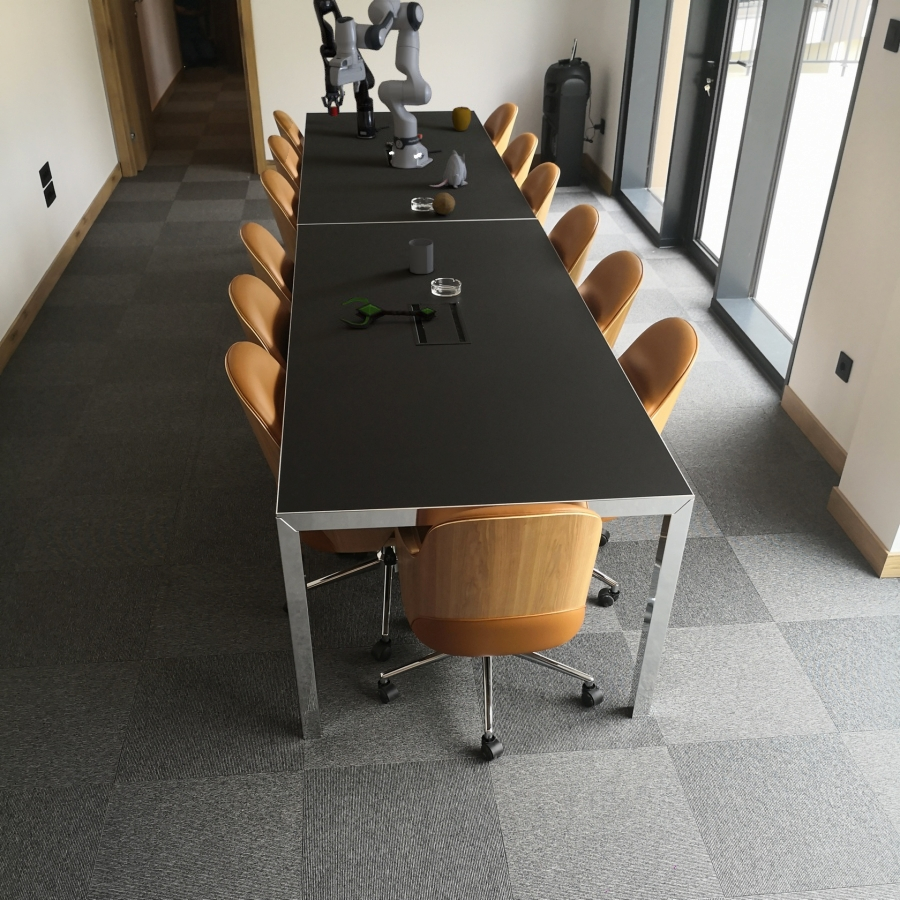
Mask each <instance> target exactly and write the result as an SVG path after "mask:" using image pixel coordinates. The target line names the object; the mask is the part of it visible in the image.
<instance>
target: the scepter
mask: <svg viewBox="0 0 900 900" xmlns="http://www.w3.org/2000/svg"><path fill="white" fill-rule="evenodd" d="M352 302H363V303H365V304H364V305H362V306H359V307H357V308H355V311H357V313H355V316H357V317H359V318H360V319H363V320H364V322H363V323H353V322H351V321H349V320H347V319H343V318H339V320H340V321H341V322H342V323H344V324H346V325H347V326H349V327H351V328H357V329H365V328H366V329H367V328H368V327H369V326H370V325H371V323H372V322H374V321H376V320H378V319H381V318H384V317H385V316H394V317H395V316H398V317H400V316H405V317H410V316H411V317H419V318H420V319H423V320H426V321H429V320H432V319H434V318H437V315H436V313H437V312H438V311H437V310H436V309H433V308H431V307H428V306H427V307H424V308H421V309H419V310H401V309H400V310H394V309H390V310H388V309H387V310H386V309H384V308H382V307H381V306H379V305H377V304H374V303H372V302H371V300H370V299H369V298H368V297H366V296H360V297H359V296H357V297H350V298H349V299H347V300H345V301H343V302H342V303H340V305H341V306H343V305H347V304H349V303H352Z"/></svg>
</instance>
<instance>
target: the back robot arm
mask: <svg viewBox="0 0 900 900" xmlns="http://www.w3.org/2000/svg"><path fill="white" fill-rule="evenodd" d="M312 5H313V9H314V13H315V17H316V20H317V24H318V26H319V30H320V38H321V43H322V44H321V45H320V46H319V54H320V55H321V57H320V58H321V59H322V63H323V69H324V89H325V94H324V96H321V98H320V99H321V101H322V104H323V107H324V108H327V114H328V116H330V115H332V113H331V106H332V104H333V103H334V104H335V106H336V107H337V113H338V115H340V113H341V112H340V107H342V106H343V103H344V99H345V96H340V91H339V89H338V87H337V86H333V85H332V84H331V80H330V68H331V67H332V66H330V65H329V61H330V60H328V59H332V58H334V57H335V56H336V55H337V52H336V51H337V43H336V36H335V30H334V29H335V28H336V21H337V19H338V18H340V17H343V15H342V12H341V10H340V8H339V6H338V3H337V1H336V0H312ZM330 13H331V14H332V15H333V17H334V28H333V26H332V25H331V24H330V23H329V22H328V21H327V20H326V19H325V17H324V16H326V15H328V14H330ZM357 55H358V57H361V58H362V60H363V64H364V67H365V79H364V80H361V81H360V85H359V88H358V89H359V91H358V92H354V91H353V97H354V100H355V106H356V107H355V109H356V125H357V127H356V129H357V138H358V139H361V140H362V139H363V140H369V139H370V140H371V139H374V138H376V132H377V133H378V132H379V130H383V129H389V128H390V125H387V126H380V127H378V128H376V118H375V112H374V109H375V108H374V99H373V97H370V94H369V90H371V89H373V88H375V85H376V79H375V76H374V74H373V73H372V70H371V69H370V67H369V66H368V64H367V63H366V60H365V59H364V57H363V56H362V53H361V51H360V49H359V48H357ZM352 87H353V88H354V87H355V83H354V82H353V83H352ZM353 88H352V89H353Z"/></svg>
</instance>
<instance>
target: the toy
mask: <svg viewBox="0 0 900 900" xmlns="http://www.w3.org/2000/svg"><path fill="white" fill-rule="evenodd" d="M466 178H467V168H466V156H465V153H463V154H462V155H459V154H458V153H457V151H456V150H455V149H453V150H452V153H451V155H450V156H449V158H448V161H447V163H446V166H445V170H444V171H443V177H442V179H443V181H442V182H441V183H439V184H436V185H435V184H433V185H432V184H430V185H428V186H429V187H434V188H440V187H443V186H446V187H448V186H449V185H451V186H453V188H455V189H459V187H458V186H461V187H462V186H467V185H468V182H467V181H465V180H466Z"/></svg>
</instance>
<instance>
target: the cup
mask: <svg viewBox="0 0 900 900" xmlns="http://www.w3.org/2000/svg"><path fill="white" fill-rule="evenodd" d="M408 253H409V272H411V273H412V274H416V275H426V274H430V273H432V272H434V241H433V240H431V239H428V238H422V237H421V238H420V237H419V238H414V239H411V240H410V241H409V242H408Z"/></svg>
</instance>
